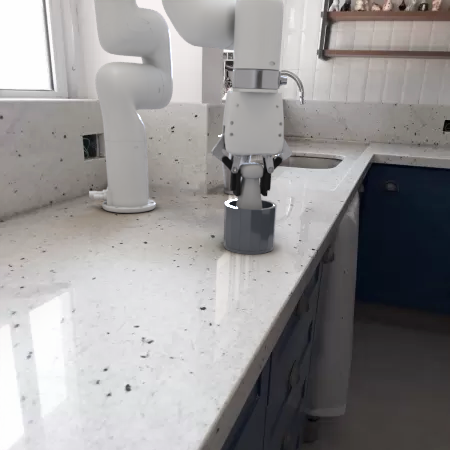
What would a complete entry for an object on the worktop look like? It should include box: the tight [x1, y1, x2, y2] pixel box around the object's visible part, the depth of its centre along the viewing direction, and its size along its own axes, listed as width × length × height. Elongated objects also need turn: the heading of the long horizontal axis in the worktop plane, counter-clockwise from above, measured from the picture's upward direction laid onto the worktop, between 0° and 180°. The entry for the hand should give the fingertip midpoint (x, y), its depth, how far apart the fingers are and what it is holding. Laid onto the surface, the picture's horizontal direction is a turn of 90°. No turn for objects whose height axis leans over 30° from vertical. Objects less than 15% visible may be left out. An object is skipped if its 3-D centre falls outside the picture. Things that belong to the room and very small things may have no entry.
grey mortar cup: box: [223, 198, 278, 255], centre depth 88 cm, size 9×9×8 cm
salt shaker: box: [236, 162, 264, 209], centre depth 86 cm, size 6×6×13 cm
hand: (249, 193), depth 86 cm, fingers closed on salt shaker, 4 cm apart
